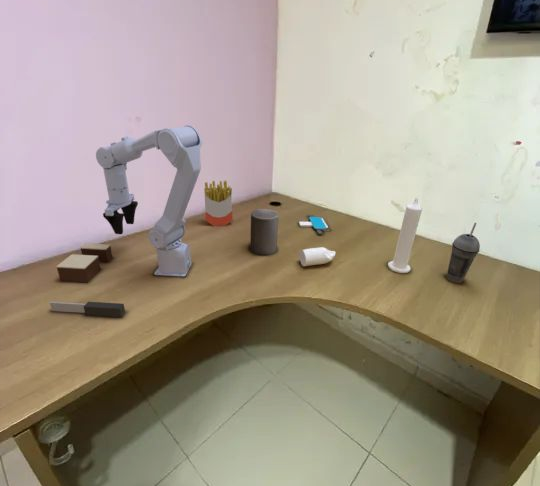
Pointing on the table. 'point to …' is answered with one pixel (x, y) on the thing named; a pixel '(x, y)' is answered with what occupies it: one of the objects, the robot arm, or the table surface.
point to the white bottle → (315, 256)
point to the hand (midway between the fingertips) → (124, 228)
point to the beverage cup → (462, 256)
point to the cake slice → (98, 251)
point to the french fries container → (218, 203)
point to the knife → (91, 308)
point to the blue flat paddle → (316, 224)
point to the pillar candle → (264, 231)
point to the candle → (406, 238)
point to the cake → (78, 268)
